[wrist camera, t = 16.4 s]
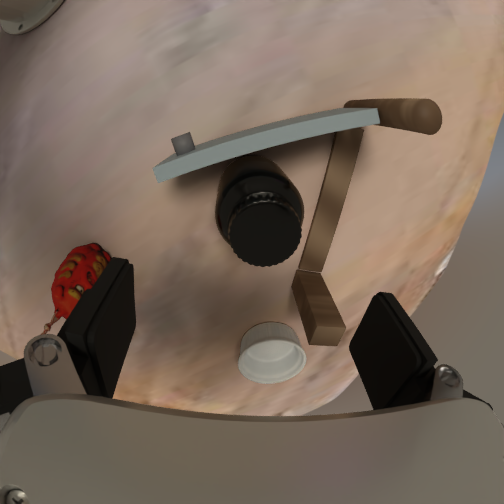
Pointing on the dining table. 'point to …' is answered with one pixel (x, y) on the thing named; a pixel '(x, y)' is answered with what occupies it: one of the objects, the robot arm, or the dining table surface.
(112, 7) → the dining table surface
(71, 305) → the red clay folk toy
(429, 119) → the door frame
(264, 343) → the ramekin
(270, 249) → the supplement bottle
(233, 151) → the door
